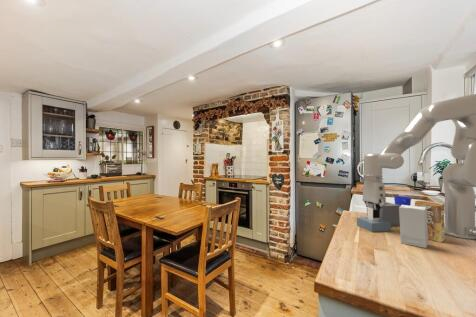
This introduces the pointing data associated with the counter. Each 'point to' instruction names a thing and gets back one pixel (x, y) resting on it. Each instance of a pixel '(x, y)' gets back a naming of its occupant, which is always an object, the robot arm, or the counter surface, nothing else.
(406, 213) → the skincare box
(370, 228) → the low socket block
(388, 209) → the raised socket block
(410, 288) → the counter surface
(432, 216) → the candy box
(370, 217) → the plug
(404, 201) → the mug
